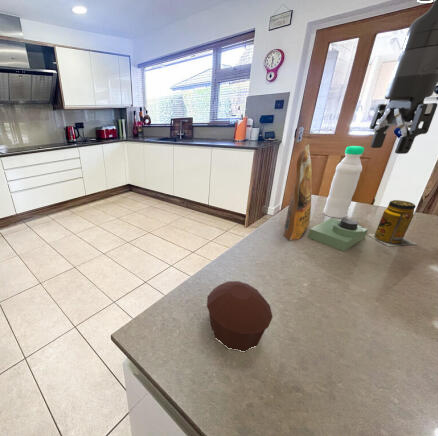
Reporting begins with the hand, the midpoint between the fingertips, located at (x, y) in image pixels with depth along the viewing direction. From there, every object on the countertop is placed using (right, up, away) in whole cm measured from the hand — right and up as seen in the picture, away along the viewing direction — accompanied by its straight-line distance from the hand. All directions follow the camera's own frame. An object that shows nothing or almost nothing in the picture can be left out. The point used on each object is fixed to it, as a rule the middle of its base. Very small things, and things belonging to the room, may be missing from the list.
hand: (387, 150), depth 58 cm
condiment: (+15, -23, +14) cm, 31 cm away
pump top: (+1, -20, +13) cm, 23 cm away
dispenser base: (0, -23, +16) cm, 28 cm away
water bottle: (+12, -16, +31) cm, 36 cm away
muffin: (-42, -39, -12) cm, 59 cm away
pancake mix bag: (-10, -21, +22) cm, 32 cm away
